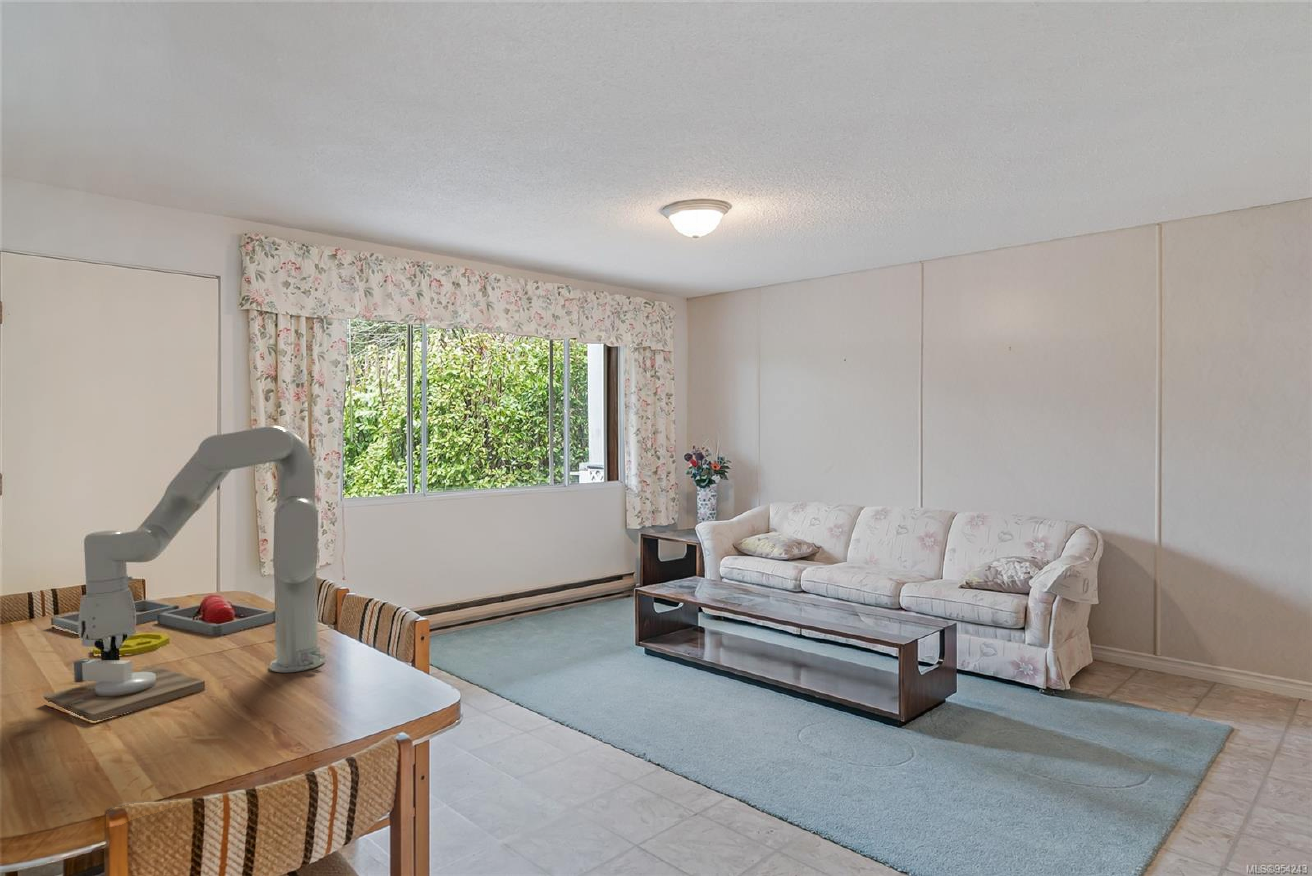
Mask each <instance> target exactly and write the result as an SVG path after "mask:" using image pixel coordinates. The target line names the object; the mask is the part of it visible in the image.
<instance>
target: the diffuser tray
mask: <svg viewBox="0 0 1312 876" xmlns="http://www.w3.org/2000/svg"><path fill="white" fill-rule="evenodd" d="M134 604H135V611H136V612H137V613H136V625H141V624H145V623H148V622H149V621H150V622H154V621H158V613H162V612H167V611H171V610H176V609H180V605H177V604H173V603H167V602H163V601H159V600H152V599H148V598H145V599H141V600H136V601H134ZM141 611H142V612H141ZM153 620H154V621H153ZM78 621H79V612H73V613H70V614H65V615H61V616H60V615H58V616H54V617H50V626H51V625H56V626H58V627H61V628H63V629H68V630H71V631H74V632H76V633H78ZM150 622H149V623H150Z"/></svg>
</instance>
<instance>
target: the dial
mask: <svg viewBox="0 0 1312 876" xmlns="http://www.w3.org/2000/svg"><path fill="white" fill-rule="evenodd" d="M132 672H134V671H133V669H132V660H121V659H120V660H101V659H91V658H86V657H85V658H79V659H76V660H74V661H73V675H74V676H73V677H74V678H73V679H74V681H73V682H74V683H84V682H97V681H99V682H98V683H96V685H95V694H96V695H98V696H120V695H126V694H131V693H135V692H139V691H142V690H145V689H148V688H150V687H152V686H153V685H155V683H156V674H155V673H152V672H134V673H132Z"/></svg>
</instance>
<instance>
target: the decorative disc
mask: <svg viewBox="0 0 1312 876" xmlns="http://www.w3.org/2000/svg"><path fill="white" fill-rule="evenodd" d="M109 642H110V638H109ZM167 644H168V645H170V636H169V635H168V633H166V632H165V633H161V632H154V631H153V632H144V633H143V632H141V633H135V634H134V635H132V636H130V637H128V638H126V639H125V641H124V642H123V643H122V646H121V648H119V655H125V654H137V653H141V654H143V653H142V652H145V653H149V652H153V651H152V650H154V651H157V650H156V649H158V650H160V649H161V648H160V647H162V648H163V646H164V647H165V645H166V646H167ZM159 648H160V649H159ZM92 651H94V653H95V654H101V650H99V649H98V648H96V647H94V646H92ZM94 653H93V654H94ZM137 655H138V654H137Z"/></svg>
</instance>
